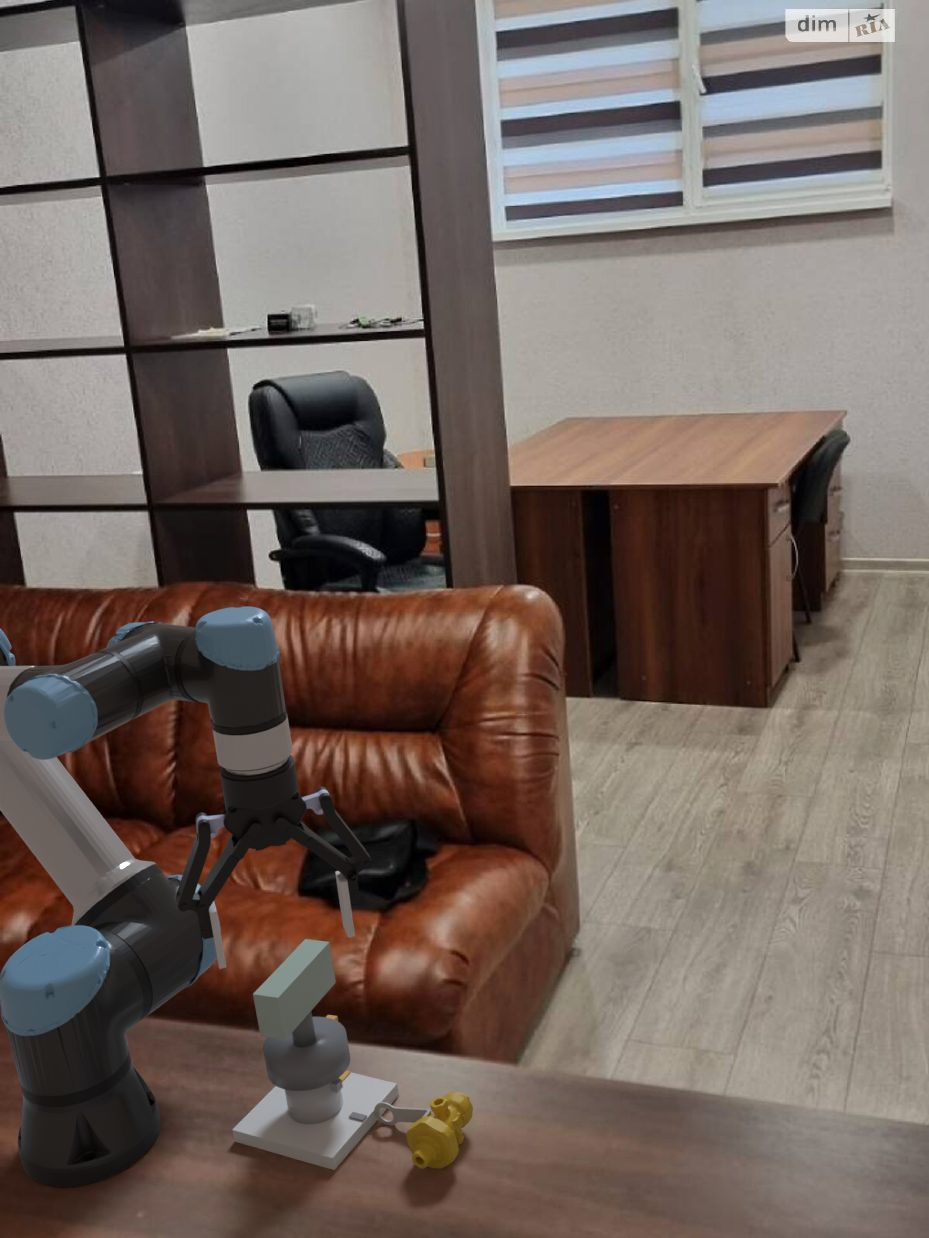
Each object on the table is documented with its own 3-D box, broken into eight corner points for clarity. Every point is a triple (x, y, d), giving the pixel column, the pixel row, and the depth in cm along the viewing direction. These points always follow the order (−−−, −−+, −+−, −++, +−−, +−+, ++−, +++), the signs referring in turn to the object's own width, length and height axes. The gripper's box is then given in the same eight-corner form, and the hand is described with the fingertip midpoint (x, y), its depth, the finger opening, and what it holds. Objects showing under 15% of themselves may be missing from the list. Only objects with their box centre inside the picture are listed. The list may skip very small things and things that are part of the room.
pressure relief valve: (490, 1122, 144) (448, 1186, 136) (395, 1117, 150) (349, 1178, 141) (476, 1077, 143) (433, 1139, 134) (381, 1074, 149) (334, 1132, 140)
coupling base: (234, 1141, 147) (224, 1089, 145) (303, 1071, 157) (294, 1022, 155) (334, 1170, 140) (325, 1116, 138) (398, 1094, 151) (391, 1044, 149)
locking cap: (320, 1102, 140) (303, 1001, 137) (246, 1089, 144) (228, 990, 140) (371, 1037, 150) (356, 942, 147) (300, 1026, 154) (284, 933, 150)
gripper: (368, 723, 143) (392, 902, 149) (128, 772, 137) (163, 957, 143) (384, 748, 136) (409, 934, 142) (132, 800, 130) (169, 993, 136)
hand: (286, 946), depth 143 cm, fingers open, 13 cm apart
